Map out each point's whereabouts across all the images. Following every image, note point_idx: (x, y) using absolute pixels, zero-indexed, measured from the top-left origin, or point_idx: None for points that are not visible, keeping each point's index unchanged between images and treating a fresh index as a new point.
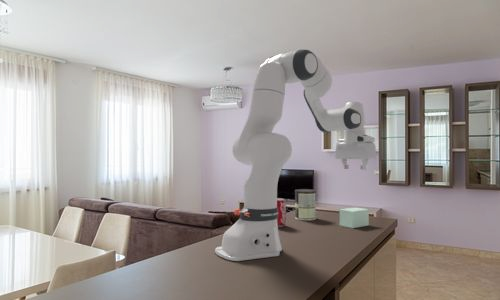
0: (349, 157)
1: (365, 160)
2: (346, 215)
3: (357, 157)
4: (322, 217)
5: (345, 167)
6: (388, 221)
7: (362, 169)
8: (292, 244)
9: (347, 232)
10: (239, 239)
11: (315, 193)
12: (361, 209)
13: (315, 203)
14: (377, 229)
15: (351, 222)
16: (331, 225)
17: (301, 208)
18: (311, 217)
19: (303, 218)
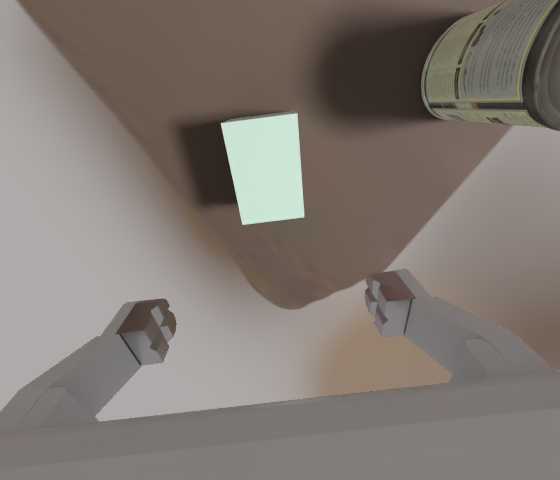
0: (325, 426)
1: (5, 423)
2: (256, 117)
3: (79, 456)
4: (426, 155)
5: (383, 278)
6: (265, 283)
7: (141, 301)
8: None
9: (176, 39)
10: None
11: (520, 105)
12: (253, 201)
13: (472, 105)
14: (188, 183)
15: (233, 119)
16: (304, 76)
17: (502, 2)
18: (430, 68)
19: (452, 26)
